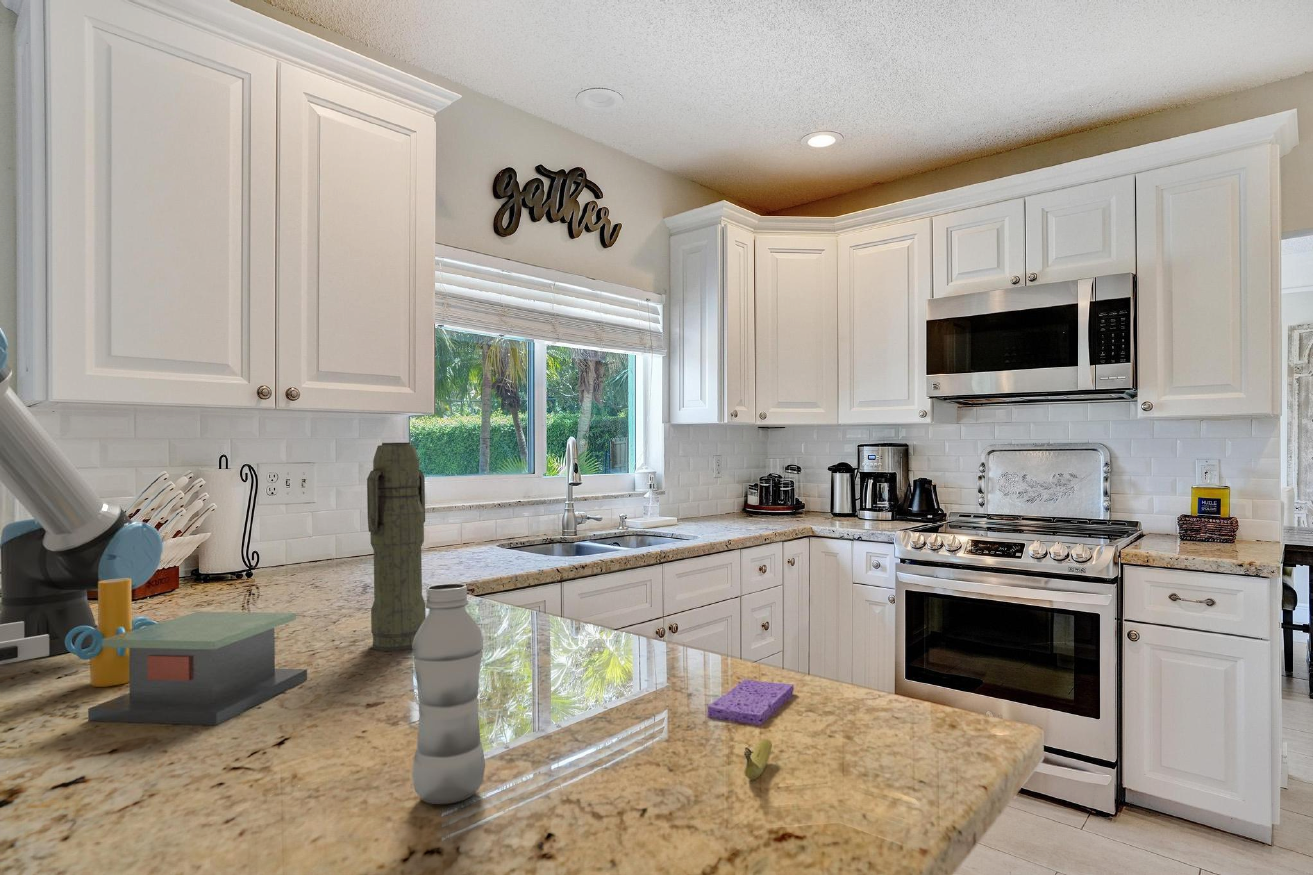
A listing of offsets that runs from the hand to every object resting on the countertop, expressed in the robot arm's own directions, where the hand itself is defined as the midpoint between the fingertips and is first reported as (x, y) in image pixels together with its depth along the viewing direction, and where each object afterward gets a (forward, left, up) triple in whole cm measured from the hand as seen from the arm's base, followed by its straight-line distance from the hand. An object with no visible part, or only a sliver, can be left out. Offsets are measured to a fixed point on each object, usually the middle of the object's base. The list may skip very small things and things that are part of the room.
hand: (36, 637), depth 102 cm
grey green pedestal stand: (-2, +25, -8) cm, 26 cm away
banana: (+14, +100, -9) cm, 101 cm away
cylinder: (-8, +5, -9) cm, 13 cm away
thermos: (-31, +38, -9) cm, 49 cm away
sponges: (-6, +99, -9) cm, 99 cm away
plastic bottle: (+22, +71, -9) cm, 74 cm away
